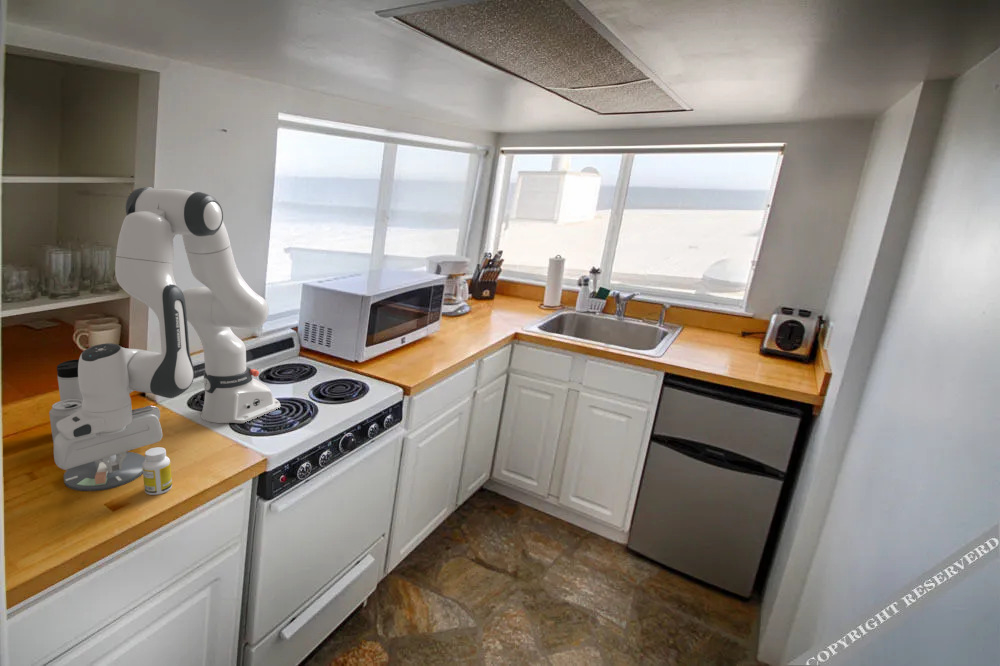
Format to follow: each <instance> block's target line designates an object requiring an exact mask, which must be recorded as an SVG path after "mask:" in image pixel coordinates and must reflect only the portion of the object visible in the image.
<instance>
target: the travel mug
mask: <svg viewBox="0 0 1000 666" xmlns="http://www.w3.org/2000/svg"><path fill="white" fill-rule="evenodd" d="M78 363H79V359H77V358H76V359H70V360H66V361H63V362H60V363H59V364H57V366H56V372H57V383H58V389H59V391H58V392H59V398H60V400H59V401H63V400H70V399H77V400H82V401H83V395H82V393H81V391H80V388H79V380H78Z"/></svg>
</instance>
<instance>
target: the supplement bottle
mask: <svg viewBox="0 0 1000 666" xmlns="http://www.w3.org/2000/svg"><path fill="white" fill-rule="evenodd" d="M144 457H145V459H146V460H145V461H144V462H143V464H142V468H143V474H142V477H143V487H144V488H143V490H144V492H145V493H146V494H147V495H150V496H156V495H157V496H158V495H161V494H164V493H167V492H169V491H170V490H171V489H172V488H173V480H172V478H173V477H172V467H171V466H172V465H171V460H170V457H168V456H167V450H166V448H164V447H161V446H160V447H157V446H156V447H151V448H149V449H147V450H146V451H144Z"/></svg>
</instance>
